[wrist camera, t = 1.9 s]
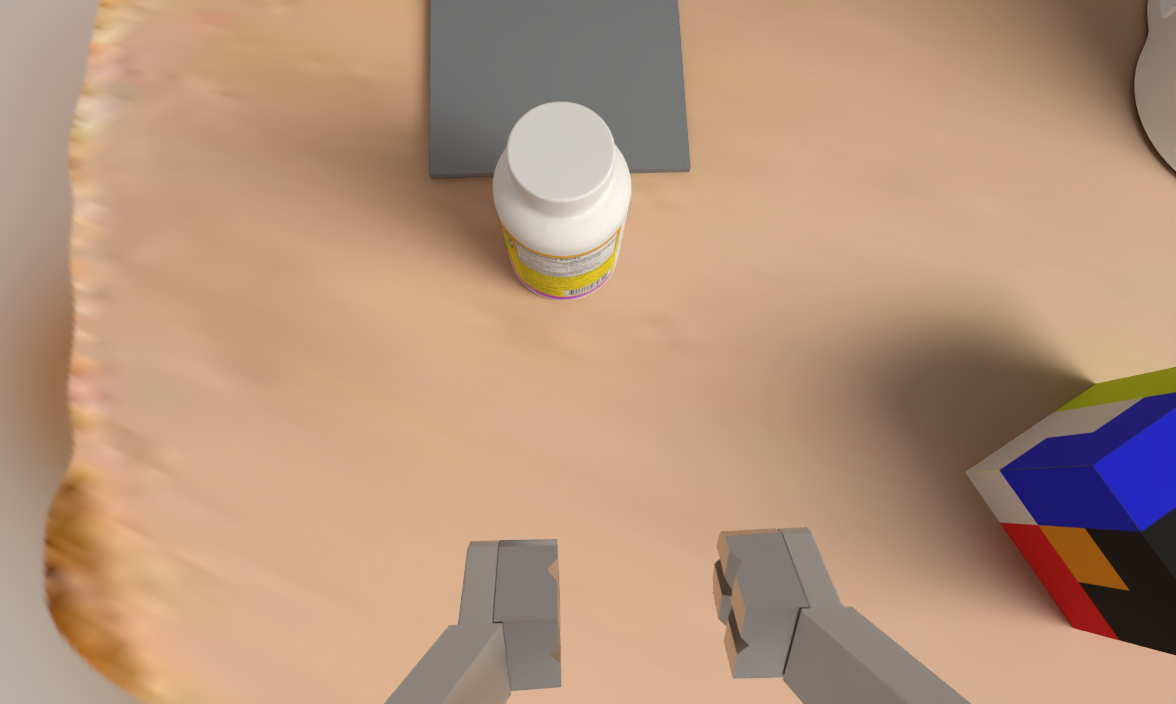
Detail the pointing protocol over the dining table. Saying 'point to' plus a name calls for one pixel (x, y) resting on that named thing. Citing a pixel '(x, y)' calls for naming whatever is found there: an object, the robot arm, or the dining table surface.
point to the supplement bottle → (562, 200)
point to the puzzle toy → (1098, 506)
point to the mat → (555, 77)
